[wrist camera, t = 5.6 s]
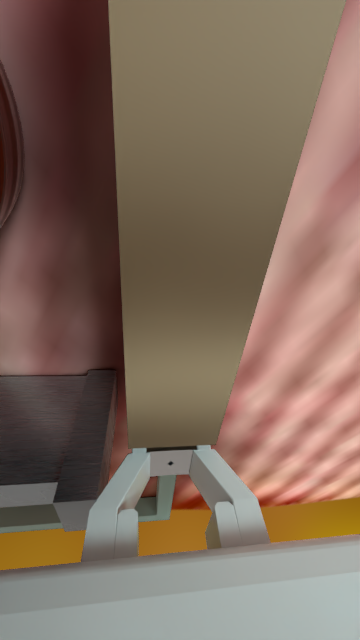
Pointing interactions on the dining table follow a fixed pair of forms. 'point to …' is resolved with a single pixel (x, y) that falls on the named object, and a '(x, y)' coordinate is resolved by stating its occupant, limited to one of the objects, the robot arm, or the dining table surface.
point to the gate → (57, 442)
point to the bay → (48, 519)
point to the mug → (9, 148)
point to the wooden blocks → (203, 188)
